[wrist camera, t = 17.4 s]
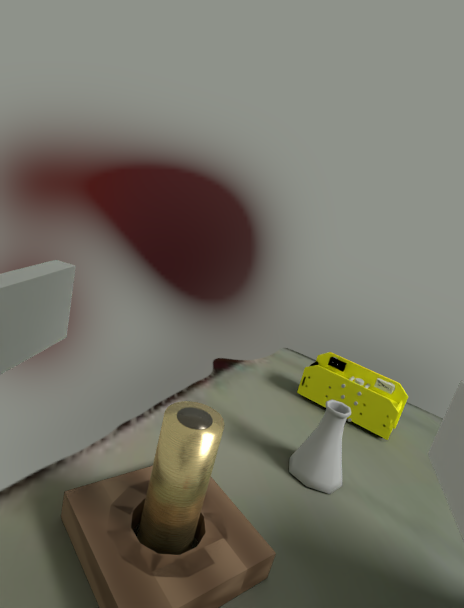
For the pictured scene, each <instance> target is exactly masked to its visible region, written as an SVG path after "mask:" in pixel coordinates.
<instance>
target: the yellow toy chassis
mask: <svg viewBox="0 0 464 608" xmlns="http://www.w3.org/2000/svg"><path fill="white" fill-rule="evenodd" d="M334 357H336V358H338V359H335V358H334ZM333 362H334V363H333ZM337 364H338V365H337ZM388 382H392V383H393V384H394V385H393V384H391V383H388ZM384 386H385V387H384ZM394 387H395V390H394V391H393V389H394ZM389 388H390V389H389ZM297 393H299V394H301V395H302V396H304V397H306V398H308V399H310V400H312V401H314V402H316V403H318V404H320V405H321V406H323V407H325V408H326V401H329V400H331V399H332V400H336V401H339V402H342V403H344V404H345V405H347V406H348V407H350V409H351V415H350V416H349V417H347V419H348V422H351V421H352V422H354V423H356V424H358V425H360V426H362V427H363V428H365V429H367V430H369V431H371V432H373V433H375V434H377V435H379V436H381V437H383V438H384V439H386V440H388V438H389V436H390V433H391V431H392V430H393V428H394V429H395V428H396V425H397V423H398V420H399V418H400V416H401V413H402V411H403V408H404V406H405V404H406V401H407V399H408V396H407V394H406V392H405V391H404V389H403V387H402V386H401V384H400V383H398V382H395V381H393V380H391V379H389V378H387V377H385V376H382V375H380V374H378V373H376V372H373V371H371V370H369V369H367V368H365V367H363V366H360V365H358V364H356V363H353V362H351V361H349V360H347V359H345V358H342V357H340V356H338V355H336V354H334V353H331V352H329V353H325V354H321V355H318V357H317V360H316V362H315V363H313V364H311V365H310V366H309V367H305V369H304V373H303V376H302V379H301V382H300V385H299V388H298V391H297Z"/></svg>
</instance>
